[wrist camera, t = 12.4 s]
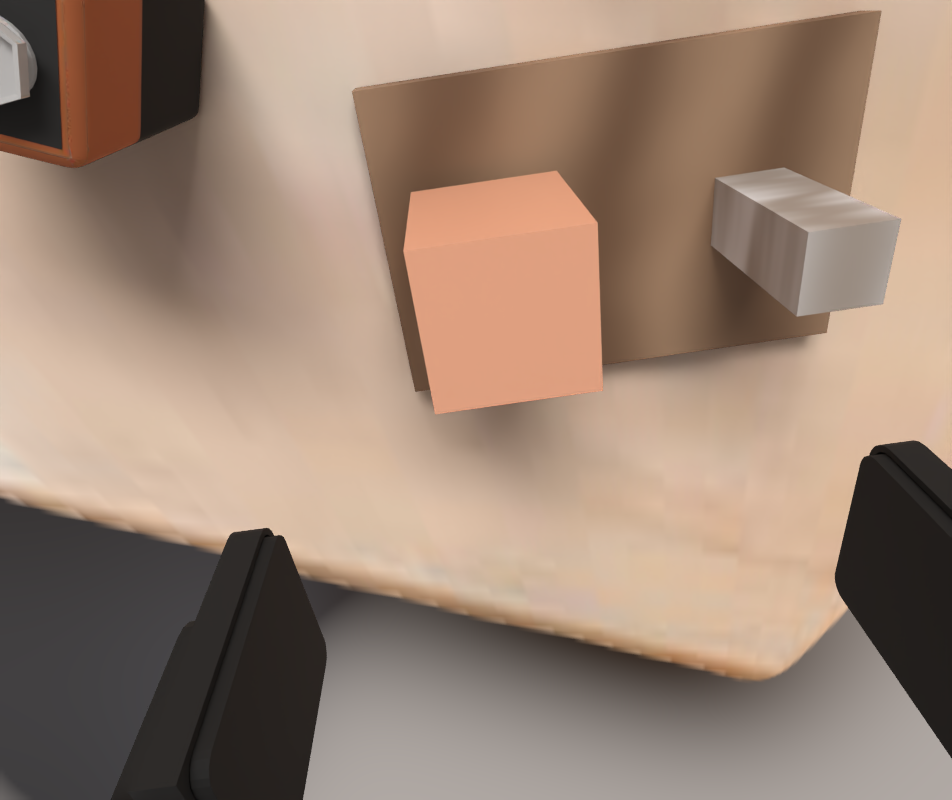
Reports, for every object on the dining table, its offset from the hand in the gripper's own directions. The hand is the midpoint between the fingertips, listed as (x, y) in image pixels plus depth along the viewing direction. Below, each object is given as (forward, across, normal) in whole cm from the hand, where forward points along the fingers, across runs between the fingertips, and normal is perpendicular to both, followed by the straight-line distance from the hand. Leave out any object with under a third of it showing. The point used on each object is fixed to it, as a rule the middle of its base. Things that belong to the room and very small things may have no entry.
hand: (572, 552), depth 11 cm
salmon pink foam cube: (+16, 0, 0) cm, 16 cm away
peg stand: (+18, -5, 0) cm, 19 cm away
